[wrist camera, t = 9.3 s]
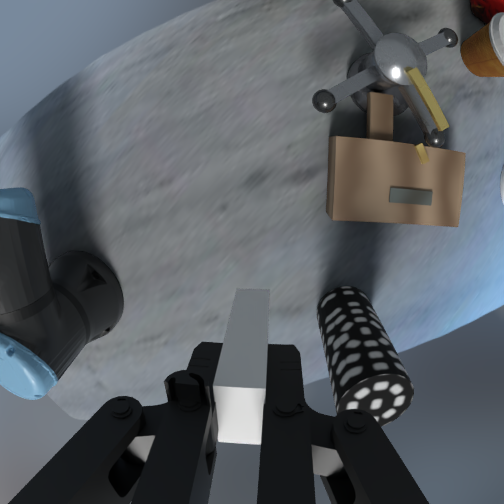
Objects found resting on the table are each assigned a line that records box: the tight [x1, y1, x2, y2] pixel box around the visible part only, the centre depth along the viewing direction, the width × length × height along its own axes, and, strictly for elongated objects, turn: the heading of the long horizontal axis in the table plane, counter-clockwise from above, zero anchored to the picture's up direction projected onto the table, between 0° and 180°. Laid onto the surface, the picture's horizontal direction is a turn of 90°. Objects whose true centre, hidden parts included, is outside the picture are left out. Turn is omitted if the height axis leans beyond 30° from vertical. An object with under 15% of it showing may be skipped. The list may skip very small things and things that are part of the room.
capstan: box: [312, 0, 458, 148], centre depth 31 cm, size 22×22×11 cm
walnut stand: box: [326, 92, 465, 227], centre depth 37 cm, size 18×16×6 cm
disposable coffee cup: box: [461, 12, 504, 77], centre depth 27 cm, size 10×10×12 cm
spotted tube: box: [317, 286, 414, 427], centre depth 38 cm, size 8×8×20 cm
